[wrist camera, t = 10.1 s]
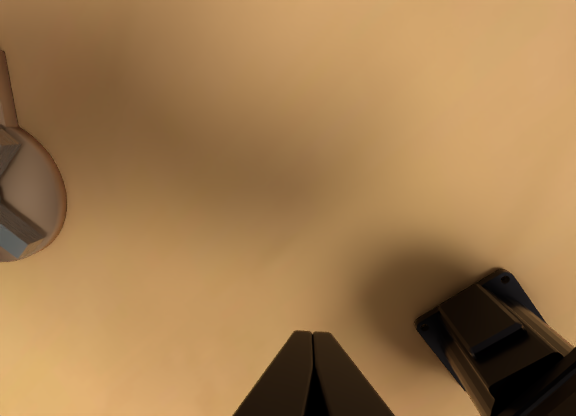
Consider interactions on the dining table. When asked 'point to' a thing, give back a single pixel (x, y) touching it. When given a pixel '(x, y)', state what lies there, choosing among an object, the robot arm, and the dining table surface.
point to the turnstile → (5, 224)
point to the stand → (29, 176)
